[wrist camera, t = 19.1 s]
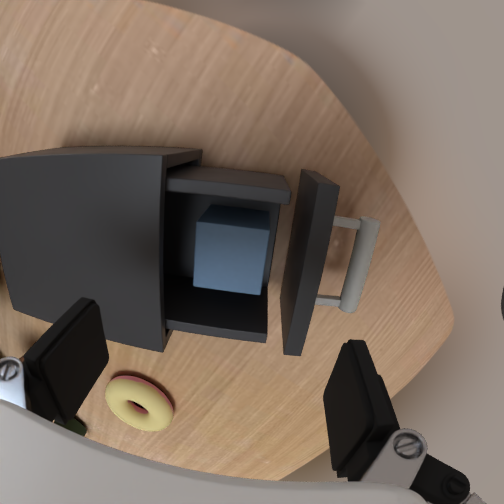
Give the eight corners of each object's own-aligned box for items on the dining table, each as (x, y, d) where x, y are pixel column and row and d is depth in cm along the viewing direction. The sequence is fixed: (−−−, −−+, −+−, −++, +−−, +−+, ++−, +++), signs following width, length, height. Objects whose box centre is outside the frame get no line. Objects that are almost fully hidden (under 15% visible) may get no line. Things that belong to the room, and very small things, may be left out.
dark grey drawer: (366, 180, 22) (408, 200, 15) (337, 303, 26) (358, 359, 19) (149, 153, 22) (100, 162, 15) (147, 279, 26) (111, 326, 19)
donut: (163, 363, 34) (100, 367, 34) (156, 384, 29) (88, 385, 29) (183, 419, 36) (125, 420, 36) (180, 441, 31) (117, 440, 31)
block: (269, 211, 22) (270, 230, 18) (261, 265, 24) (260, 295, 19) (210, 204, 22) (195, 221, 18) (206, 258, 24) (193, 286, 19)
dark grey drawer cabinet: (202, 149, 23) (162, 155, 14) (193, 287, 27) (163, 353, 18) (61, 147, 23) (-10, 159, 14) (67, 265, 27) (13, 309, 18)
